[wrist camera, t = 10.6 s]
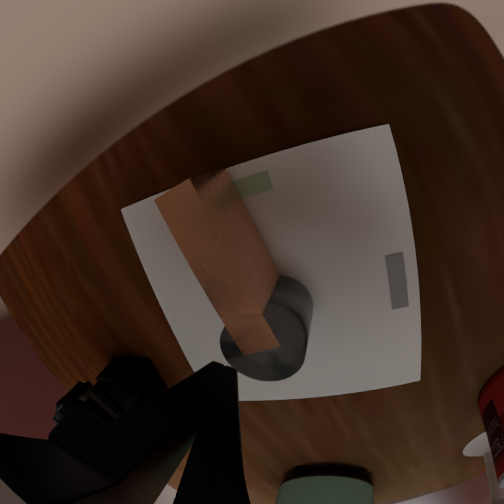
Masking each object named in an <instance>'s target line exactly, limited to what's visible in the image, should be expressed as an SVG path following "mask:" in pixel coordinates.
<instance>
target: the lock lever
mask: <svg viewBox="0 0 504 504" xmlns="http://www.w3.org/2000/svg"><path fill="white" fill-rule="evenodd" d="M154 201H155V203H156V205H157V207H158V209H159V211H160V213H161V215H162V217H163V218H164V220H165V222H166V224H167V226H168V228H169V230H170V232H171V233H172V235H173V237H174V239H175V241H176V243H177V244H178V246H179V248H180V250H181V252H182V253H183V255H184V257H185V259H186V260H187V262H188V264H189V266H190V268H191V269H192V271H193V273H194V275H195V276H196V278H197V280H198V281H199V283H200V285H201V287H202V288H203V290H204V292H205V293H206V295H207V297H208V298H209V300H210V302H211V304H212V305H213V307H214V309H215V310H216V312H217V313H218V315H219V317H220V318H221V320H222V322H223V323H224V325H225V327H224V328H223V330H222V332H221V335H220V348H221V352H222V354H223V356H224V358H225V359H226V361H227V362H228V363H229V364H230V365H231V366H232V367H234V368H236V369H237V371H238V372H239V373H241V374H243V375H245V376H247V377H249V378H252V379H255V380H259V381H268V382H271V381H280V380H284V379H287V378H289V377H291V376H293V375H294V374H295V373H297V372H298V371H299V370H300V368H301V367H302V365H303V363H304V360H305V356H306V350H307V345H308V339H309V333H310V328H311V322H312V315H313V301H312V298H311V295H310V294H309V292H308V290H307V289H306V288H305V287H304V286H303V285H302V284H301V283H300V282H298V281H297V280H295V279H293V278H291V277H288V276H285V275H280V274H279V272H278V270H277V268H276V266H275V264H274V262H273V260H272V258H271V256H270V254H269V252H268V250H267V248H266V246H265V244H264V242H263V240H262V238H261V237H260V235H259V233H258V231H257V229H256V227H255V225H254V223H253V221H252V219H251V217H250V215H249V213H248V211H247V209H246V207H245V205H244V203H243V202H242V200H241V198H240V196H239V194H238V192H237V190H236V188H235V186H234V184H233V182H232V180H231V178H230V177H229V175H228V173H227V171H226V169H225V168H222V169H219V170H215V171H212V172H208V173H205V174H201V175H198V176H194V177H191V178H188V179H187V180H185V181H184V182H182V183H180V184H179V185H177V186H175V187H174V188H172V189H171V190H169V191H167V192H166V193H164V194H163V195H161V196H160V197H158V198H157V199H155V200H154Z"/></svg>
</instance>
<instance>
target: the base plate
mask: <svg viewBox="0 0 504 504" xmlns="http://www.w3.org/2000/svg"><path fill="white" fill-rule="evenodd" d="M226 171H227V173H228V175H229V177H230V178H231V180H232V182H233V184H234V186H235V188H236V190H237V192H238V194H239V196H240V198H241V200H242V202H243V203H244V205H245V207H246V209H247V211H248V213H249V215H250V217H251V219H252V221H253V223H254V225H255V227H256V229H257V231H258V233H259V235H260V237H261V238H262V240H263V242H264V244H265V246H266V248H267V250H268V252H269V254H270V256H271V258H272V260H273V262H274V264H275V266H276V268H277V270H278V272H279V274H280V275H285V276H288V277H291V278H293V279H295V280H297V281H298V282H300V283H301V284H302V285H303V286H304V287H305V288H306V289H307V290H308V292H309V294H310V295H311V298H312V301H313V315H312V322H311V328H310V333H309V339H308V345H307V350H306V356H305V360H304V363H303V365H302V367H301V368H300V370H299V371H298V372H297V373H295V374H294V375H293V376H291V377H289V378H287V379H284V380H280V381H271V382H268V381H259V380H255V379H252V378H249V377H247V376H245V375H243V374H241V373H239V372H238V391H239V401H255V400H282V399H298V398H311V397H321V396H331V395H339V394H347V393H355V392H361V391H368V390H374V389H380V388H385V387H391V386H396V385H401V384H406V383H410V382H415V381H419V380H420V373H421V314H420V295H419V282H418V271H417V261H416V252H415V244H414V237H413V230H412V224H411V218H410V212H409V206H408V201H407V196H406V191H405V186H404V181H403V177H402V172H401V168H400V164H399V160H398V156H397V152H396V148H395V144H394V140H393V137H392V133H391V130H390V126H389V124H386V125H381V126H377V127H372V128H368V129H363V130H359V131H354V132H350V133H346V134H342V135H338V136H334V137H330V138H326V139H322V140H318V141H315V142H311V143H307V144H304V145H300V146H297V147H293V148H290V149H286V150H283V151H279V152H276V153H273V154H269V155H266V156H263V157H260V158H257V159H253V160H250V161H247V162H244V163H241V164H238V165H235V166H232V167H229V168H226ZM171 189H172V188H171ZM171 189H169V190H171ZM169 190H166V191H164V192H161V193H159V194H156V195H154V196H151V197H149V198H147V199H144V200H142V201H139V202H137V203H135V204H132V205H130V206H128V207H125V208H123V209H121V212H122V214H123V217H124V220H125V222H126V225H127V228H128V230H129V233H130V235H131V238H132V241H133V243H134V246H135V248H136V251H137V253H138V255H139V258H140V260H141V263H142V265H143V267H144V270H145V272H146V274H147V277H148V279H149V281H150V284H151V286H152V288H153V290H154V293H155V295H156V297H157V299H158V301H159V303H160V306H161V308H162V310H163V312H164V314H165V316H166V318H167V320H168V322H169V324H170V326H171V328H172V330H173V333H174V335H175V336H176V338H177V340H178V342H179V344H180V346H181V348H182V350H183V352H184V354H185V356H186V358H187V360H188V362H189V363H190V365H191V367H192V369H193V371H194V372H196V371H197V370H199V369H201V368H202V367H204V366H205V365H207V364H208V363H210V362H212V361H216V362H219V363H222V364H224V365H225V366H226V365H228V366H231V365H230V364H229V363H228V362H227V361H226V359H225V358H224V356H223V354H222V352H221V348H220V335H221V332H222V330H223V328H224V327H225V325H224V323H223V322H222V320H221V318H220V317H219V315H218V313H217V312H216V310H215V309H214V307H213V305H212V304H211V302H210V300H209V298H208V297H207V295H206V293H205V292H204V290H203V288H202V287H201V285H200V283H199V281H198V280H197V278H196V276H195V275H194V273H193V271H192V269H191V268H190V266H189V264H188V262H187V260H186V259H185V257H184V255H183V253H182V252H181V250H180V248H179V246H178V244H177V243H176V241H175V239H174V237H173V235H172V233H171V232H170V230H169V228H168V226H167V224H166V222H165V220H164V218H163V217H162V215H161V213H160V211H159V209H158V207H157V205H156V203H155V201H154V200H155V199H157V198H158V197H160V196H161V195H163V194H164V193H166V192H167V191H169ZM231 367H232V366H231Z"/></svg>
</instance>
